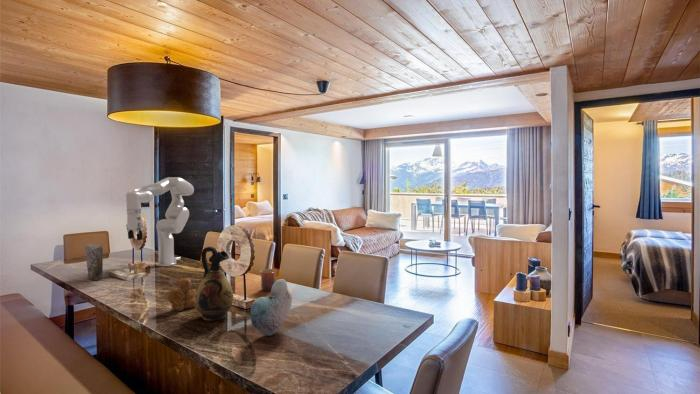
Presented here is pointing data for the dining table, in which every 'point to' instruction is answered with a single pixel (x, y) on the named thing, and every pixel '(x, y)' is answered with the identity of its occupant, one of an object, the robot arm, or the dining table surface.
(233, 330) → the dining table surface
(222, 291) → the ceramic jug
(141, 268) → the marking gauge
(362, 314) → the dining table surface
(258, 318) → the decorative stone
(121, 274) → the birch board
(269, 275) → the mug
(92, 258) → the stone block
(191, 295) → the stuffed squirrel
